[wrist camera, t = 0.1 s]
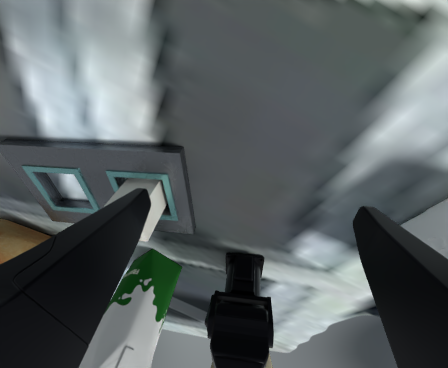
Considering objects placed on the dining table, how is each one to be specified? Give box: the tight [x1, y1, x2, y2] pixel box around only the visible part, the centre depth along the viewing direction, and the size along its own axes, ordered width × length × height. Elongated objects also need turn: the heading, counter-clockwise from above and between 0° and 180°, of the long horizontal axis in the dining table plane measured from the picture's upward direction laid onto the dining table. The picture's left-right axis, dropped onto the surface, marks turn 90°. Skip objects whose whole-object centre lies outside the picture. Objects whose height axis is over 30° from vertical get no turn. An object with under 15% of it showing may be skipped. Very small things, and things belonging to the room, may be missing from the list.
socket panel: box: [0, 139, 196, 234], centre depth 30 cm, size 14×24×2 cm, turn 91°
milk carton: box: [79, 249, 182, 368], centre depth 34 cm, size 9×9×20 cm
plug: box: [104, 178, 168, 242], centre depth 27 cm, size 4×4×8 cm
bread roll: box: [0, 219, 51, 264], centre depth 38 cm, size 10×15×8 cm, turn 61°
